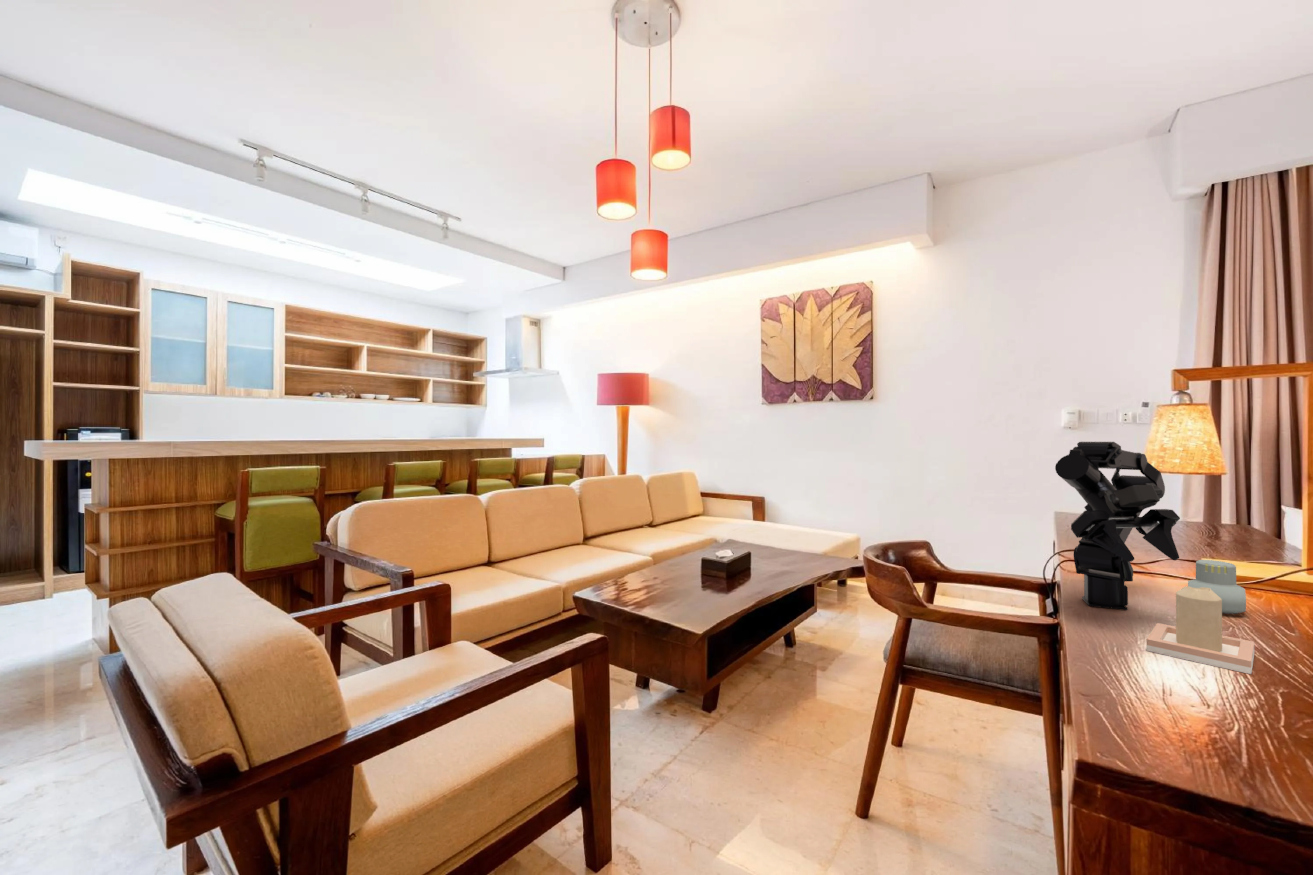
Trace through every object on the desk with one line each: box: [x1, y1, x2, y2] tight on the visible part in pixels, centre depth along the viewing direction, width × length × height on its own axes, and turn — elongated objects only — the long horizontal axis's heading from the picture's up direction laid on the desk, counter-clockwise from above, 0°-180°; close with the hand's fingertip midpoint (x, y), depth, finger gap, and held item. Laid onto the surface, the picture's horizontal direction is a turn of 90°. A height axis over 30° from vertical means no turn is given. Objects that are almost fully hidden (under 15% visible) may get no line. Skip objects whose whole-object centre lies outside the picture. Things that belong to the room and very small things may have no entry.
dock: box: [1145, 622, 1255, 675], centre depth 90 cm, size 12×12×2 cm
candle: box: [1175, 585, 1223, 652], centre depth 91 cm, size 6×6×10 cm
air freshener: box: [1187, 559, 1247, 615], centre depth 112 cm, size 11×8×10 cm
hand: (1154, 559), depth 100 cm, fingers open, 9 cm apart
